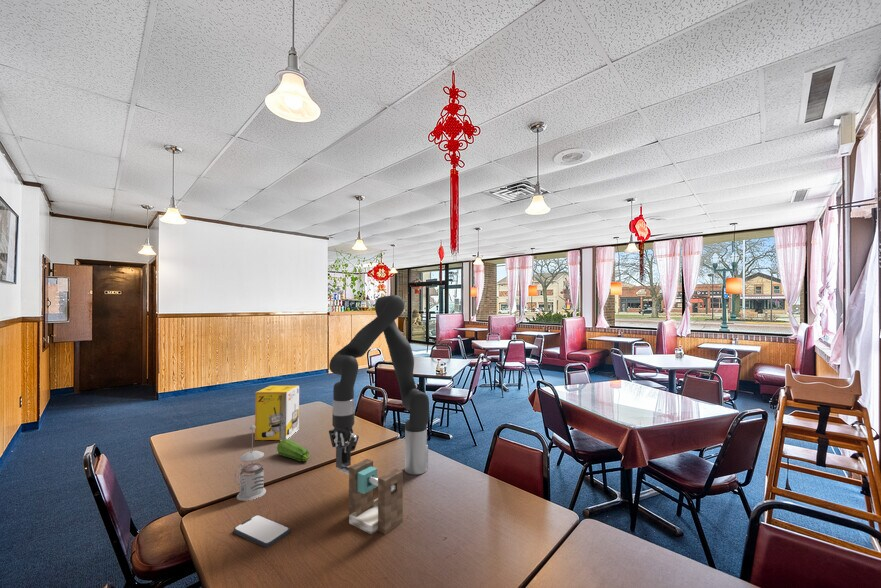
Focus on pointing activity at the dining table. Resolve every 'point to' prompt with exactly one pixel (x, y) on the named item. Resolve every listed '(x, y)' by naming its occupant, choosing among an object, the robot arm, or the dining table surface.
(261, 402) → the packaging box
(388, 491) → the bearing frame
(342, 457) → the shaft
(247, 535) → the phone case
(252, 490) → the french press
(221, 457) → the dining table surface
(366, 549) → the dining table surface
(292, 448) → the vegetable
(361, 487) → the block
